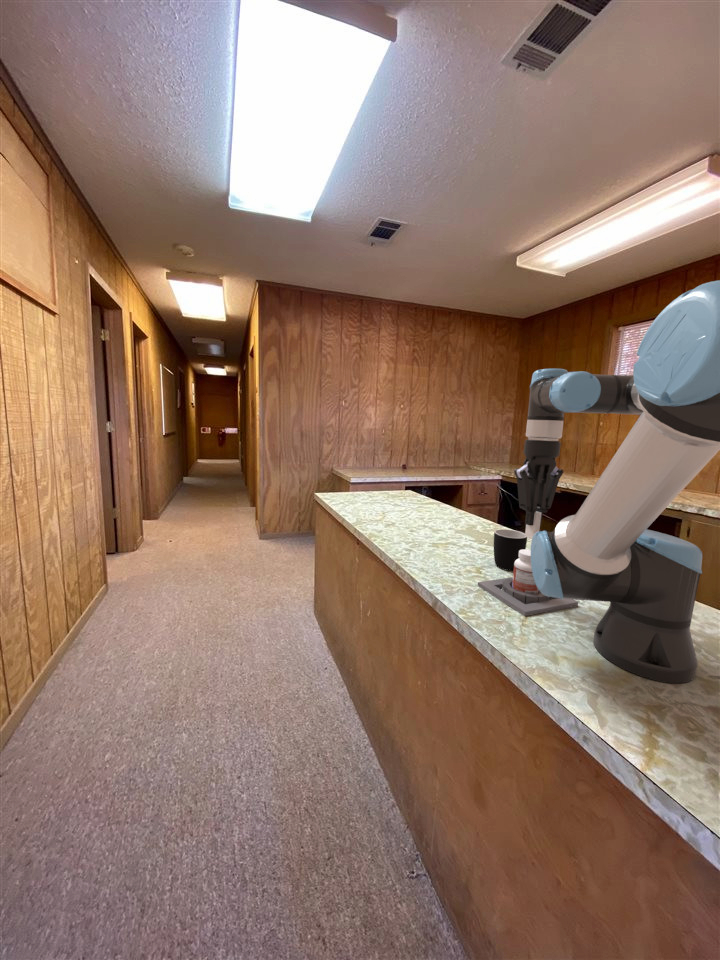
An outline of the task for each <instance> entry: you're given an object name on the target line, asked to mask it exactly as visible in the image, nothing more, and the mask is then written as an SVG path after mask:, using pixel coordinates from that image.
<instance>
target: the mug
mask: <svg viewBox="0 0 720 960" xmlns="http://www.w3.org/2000/svg"><path fill="white" fill-rule="evenodd" d="M527 542H528V538H527V537H525V532H522V531H519V530H514V529H507V528H503V529H502V528H499V529H496V530H494V534H493V559H494V563H495V566H497V568H500V569H501V570H505V571H514V563H515V561H516V560H517V559H518V558H519V550H522V549H526V548H527Z"/></svg>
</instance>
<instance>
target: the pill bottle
mask: <svg viewBox="0 0 720 960" xmlns="http://www.w3.org/2000/svg"><path fill="white" fill-rule="evenodd" d="M512 573H513V574H512V577H513V581H512V588H514V589H515V590H517V591H520V592H524V593H529V594H539V589H538V588H537V586H536V584H535V581H534V577H533V573H532V567H531V549H522V550H519V558H518V559H517V560H516V561H515V563H514V571H513V572H512Z"/></svg>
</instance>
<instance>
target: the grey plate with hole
mask: <svg viewBox="0 0 720 960" xmlns="http://www.w3.org/2000/svg"><path fill="white" fill-rule="evenodd" d="M512 581H513V576H510V577H503V578H499V579H498V578H497V579H491V580H490V579H489V580H483V581H478V582H477V586H478V587H479V588H480V589H481V590H483V591H485V592H487V594H490V595H491V596H492V597H495V599H497V600H499V601H500V602H502V603H503V604H505V605H506V606H508V607H510V608H511V609H512V610H514V611H516V612H517V613H519V614H521V615H522V616H524V617H527V616H533V615H537V614H544V613H548V612H554V611H559V610H564V609H570V608H574V607H578V606H579V601H578V600H576V599H560V598H555V597H548V596H545V595H543V594H542V593H541V592H540V591H539V594H529V593H524V592H520V591H517V590H515V589H514V588H512Z"/></svg>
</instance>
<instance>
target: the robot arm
mask: <svg viewBox="0 0 720 960" xmlns="http://www.w3.org/2000/svg"><path fill="white" fill-rule="evenodd" d="M636 355H637V357H638V359H637V361H636V362H635V363H634V364H633V374H629V375H627V374H626V375H624V374H622V375H621V374H619V375H617V374H600V373H599V374H595V373H593V374H592V373H590V372H588V371H582V370H581V371H568V370H567V369H564V368H543V369H537V370H535V371H534V372H533V373H532V376H531V382H530V385H529V397H528V398H529V399H528V400H529V401H528V409H527V410H528V411H527V418H526V420H527V422H526V431H525V437H527V439H525V440H524V447H523V455H524V456H525V459H524V461H523V466H521V467H520V468H515V469H514V470H513V471H514V472H513V473H514V475H515V477H516V484H517V496H518V505H519V506H518V507H519V508H520V509H522V510H523V511H525V518H524V519H525V520H524V524H525V532H524V533H525V537H527V539H530V540H531V542H530V550H531V567H532V573H533V577H534V581H535V584H536V586H537V588H538V589H539V591H540V592H541V593H542V594H543V595H545V596H548V597H555V598H560V599H574V600H575V601H594V602H608V603H609V605H608V606H609V607H608V608H607V610H606V611H605V613H604V615H603V616H602V617H601V619H600V621H599V623H598V624H597V625H596V627H595V629H594V634H593V641H592V642H593V645H594V647H595V649H596V650H597V652H598V653H599V654H600V655H601V656H602V657H603V658H605V659H607V661H609V662H611V663H612V664H614V665H615V666H617V667H619V668H621V669H623V670H625V671H627V672H629V673H632V674H634V675H636V676H640V677H641V678H642V677H643V678H646V679H649V680H654V681H657V682H663V683H670V684H683V683H688V682H691V681H692V680H694V679H695V677H696V673H697V668H698V660H697V655H696V650H695V646H694V642H693V638H692V634H691V623H692V619H693V614H694V608H695V602H696V597H697V594H698V593H697V592H698V587H699V582H700V579H701V575H702V574H703V570H702V565H703V552H702V550H701V548H699V546H697V545H696V544H694V543H692V542H690V541H687V540H685V539H682V538H681V537H677V536H673V535H670V534H667V533H664V532H663V533H662V532H659V531H655V530H651V529H648V528H649V527H650V526H651V525H652V524H653V522H655V521H656V519H658V517H659V516H660V515H661V514H662V513H663V512H664V510H666V508H668V507H669V505H671V503H672V502H673V501H674V500H675V499H676V498H677V497H678V496H679V494H680V493H681V492H682V491H683V490H684V489H685V488H686V487H687V486H688V485H689V484H690V483H691V482H692V481H693V480H694V479H695V477H696V476H698V475H699V473H700V472H701V471H702V470H703V469H704V468H705V466H706V465H707V464H709V462H710V461H711V460H712V459H713V458H714V457H715V455H717V454H718V453H719V451H720V279H719V280H714V281H709V282H705V283H702V284H699V285H698V286H696V287H695V288H693V289H690V290H688V291H686V292H683V293H682V294H681V295H679V296H677V298H675V299H673V300H672V301H671V302H670V303H669V304H668V305H667V306H665V307H664V309H663V310H661V312H660V313H659V314H658V315H657V316H656V318H655V319H654V320H653V321H652V322H651V324H650V325H649V326H648V329H647V330H646V332H645V333H644V336H643V338H642V339H641V341H640V344H639V345H638V348H637V352H636ZM565 413H569V414H570V413H577V414H578V413H580V414H581V413H582V414H611V415H612V414H615V415H634V416H635V415H637V416H639V417H638V418H637V420H636V421H635V423H634V424H633V426H632V428H631V429H630V430H629V432H628V434H627V435H626V437H625V438H624V440H623V442H622V443H621V444H620V446H619V447H618V449H617V451H616V452H615V454H614V455H613V457H612V458H611V459H610V461H609V463H608V464H607V466H606V468H605V469H604V470H603V472H602V473H601V474H600V476H599V478H598V480H597V481H596V483H595V484H594V485H593V487H592V489H591V490H590V492H589V494H588V495H587V497H586V498H585V499H584V501H583V503H582V504H581V506H580V508H579V509H578V510H577V512H576V513H575V514H572V515H568V516H566V517H564V518H562V519H560V520H559V522H558V523H557V524H556V526H555V527H554V529H553V531H547V530H542V531H541V529H540V527H541V525H542V521H543V513H544V514H546V513H547V512H548V510H550V509H551V507H552V504H553V502H554V497H555V495H556V491H557V489H558V488H557V487H558V485H559V481H560V479H561V477H562V475H564V470H563V469H561V468H558V466H557V461H556V460H557V459H556V458H559V457H560V453H561V452H560V451H561V445H562V443H561V441H559V439H562V437H563V428H564V420H565Z"/></svg>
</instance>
